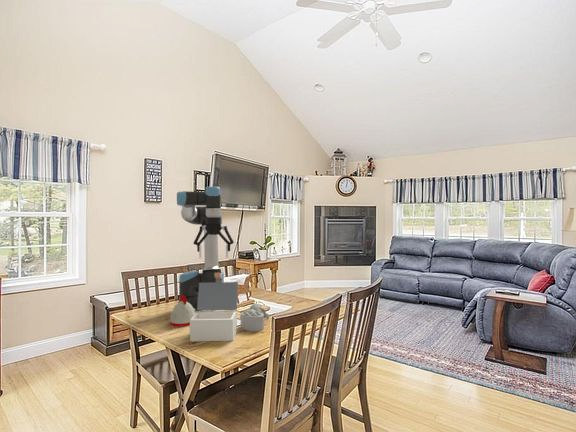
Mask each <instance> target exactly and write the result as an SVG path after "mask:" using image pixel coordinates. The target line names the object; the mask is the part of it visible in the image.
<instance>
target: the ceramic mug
mask: <svg viewBox="0 0 576 432" xmlns="http://www.w3.org/2000/svg"><path fill="white" fill-rule="evenodd" d="M250 309H254V310H257V309H260V310H261V312H262V313H263V314H264V319H265V318H266V319H269V317H270V315H269V314H268V313H267V312H266V310H265V308H263V307H262V306H261V305H260V304H258V303H254V304H252V305H250V307H249V309H248V310H250Z"/></svg>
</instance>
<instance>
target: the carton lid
mask: <svg viewBox="0 0 576 432" xmlns="http://www.w3.org/2000/svg"><path fill="white" fill-rule="evenodd" d="M214 277H215V278H216V282H214V283H199V292H198V304H197V310H200V311H237V310H238V293H239V292H238V291H239V289H238V288H239V286H238V285H239V282H237V281H230V282H229V281H225V282H224V281H223V282H222V274H221V273H215V274H214Z"/></svg>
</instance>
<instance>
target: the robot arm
mask: <svg viewBox="0 0 576 432" xmlns="http://www.w3.org/2000/svg"><path fill="white" fill-rule="evenodd" d="M221 195H222V193H221V188H220V187H219V186H206V187H205V191H189V190H188V191H187V190H186V191H185V190H183V191H178V192H176V204H177V206H179V207H181V210H180V215H181V218H182V219H183V220H184V221H186V222H187V223H188V224H191V225H197V226H198V225H201V226H199V230H198V233H197V235H196V236H195V239H194V241H193V245H196V246H197V247H196V248H197V250H196V251H197V252H198V253H199V254H198V255H199V258H198V259H202V258H204V268H202V272H200V271H198V270H190V271H185V272H182V273H181V274H180V275H179V276H178V277H179V279H178V284H179V285H178V287H179V289H178V290H179V298H180V297H181V295H184V297H185V296H186V299H187V302H188V303H190V304H191V305H192V307H193V309H194V308H195V310H196V312H197V311H201V310H197V304H198V292H199V283H214V282H216V278H215V277H214V274H215V273H221V274H222V282H224V271H222V268H221V267H220V266H219V239H218V238H219V236H220V238H221V239H222V240H223V242H224V243H226V245H225V258H226V259H228V258H229V252H230V251H231V245H233V244H234V243H235V242H234V239H233V238H232V236H231V234H230V232H229V231H228V226H227V225H225V226H224V225H223V226H222V224H223V218H222V209H221V208H222V207H221V199H222V198H221ZM221 230H223V231H224V232H225V234H226V235H224V234H223V233H222V231H221ZM202 234H203V236H202ZM201 236H202V238H201ZM227 238H228V239H227ZM202 243H203V244H204V245H201V244H202ZM203 246H204V248H203ZM203 249H204V252H203ZM203 253H204V257H203ZM179 302H180V300H179V299H178V301H177V304H178V303H179Z"/></svg>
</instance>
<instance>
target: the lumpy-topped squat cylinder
mask: <svg viewBox="0 0 576 432" xmlns="http://www.w3.org/2000/svg"><path fill="white" fill-rule="evenodd" d="M249 309H250V308H249ZM249 309H245V310H243V311H242V312H240V328H241V329H242V330H245V331H248V332H261V331H263V330H264V329H265V318H264V314H263V313H262V312H261V310H260V309H257V310H254V309H250V310H249Z"/></svg>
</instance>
